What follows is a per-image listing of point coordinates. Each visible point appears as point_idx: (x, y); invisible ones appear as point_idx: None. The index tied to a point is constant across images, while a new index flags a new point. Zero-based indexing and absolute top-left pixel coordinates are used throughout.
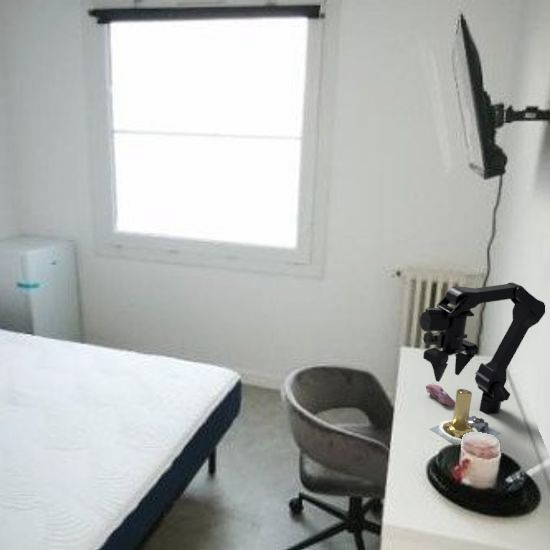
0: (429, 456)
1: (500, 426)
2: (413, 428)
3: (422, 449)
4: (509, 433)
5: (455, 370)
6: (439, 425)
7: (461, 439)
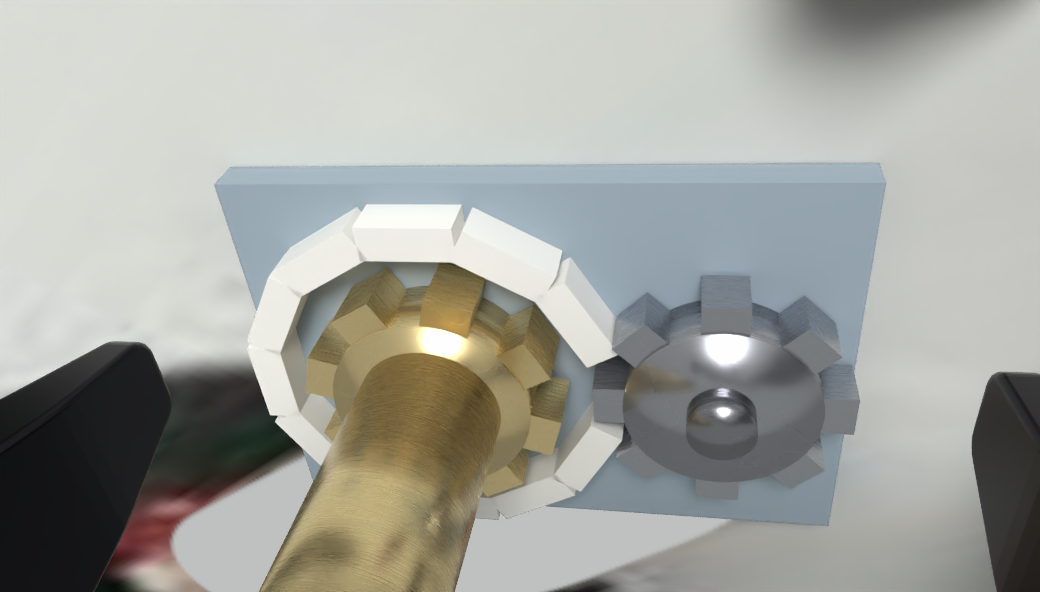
0: None
1: None
2: (108, 40)
3: (36, 302)
4: (954, 520)
5: (1035, 453)
6: (299, 257)
7: None
